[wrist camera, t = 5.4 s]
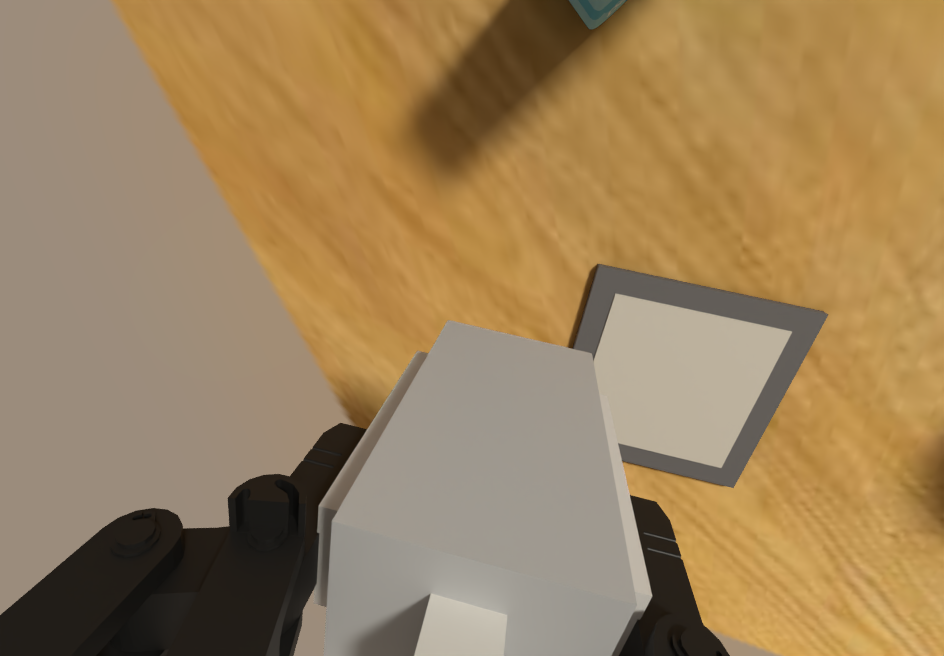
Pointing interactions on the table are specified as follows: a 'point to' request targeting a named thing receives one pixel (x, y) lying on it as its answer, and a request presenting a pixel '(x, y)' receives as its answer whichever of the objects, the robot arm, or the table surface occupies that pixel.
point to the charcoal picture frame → (691, 368)
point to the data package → (595, 10)
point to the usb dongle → (484, 513)
